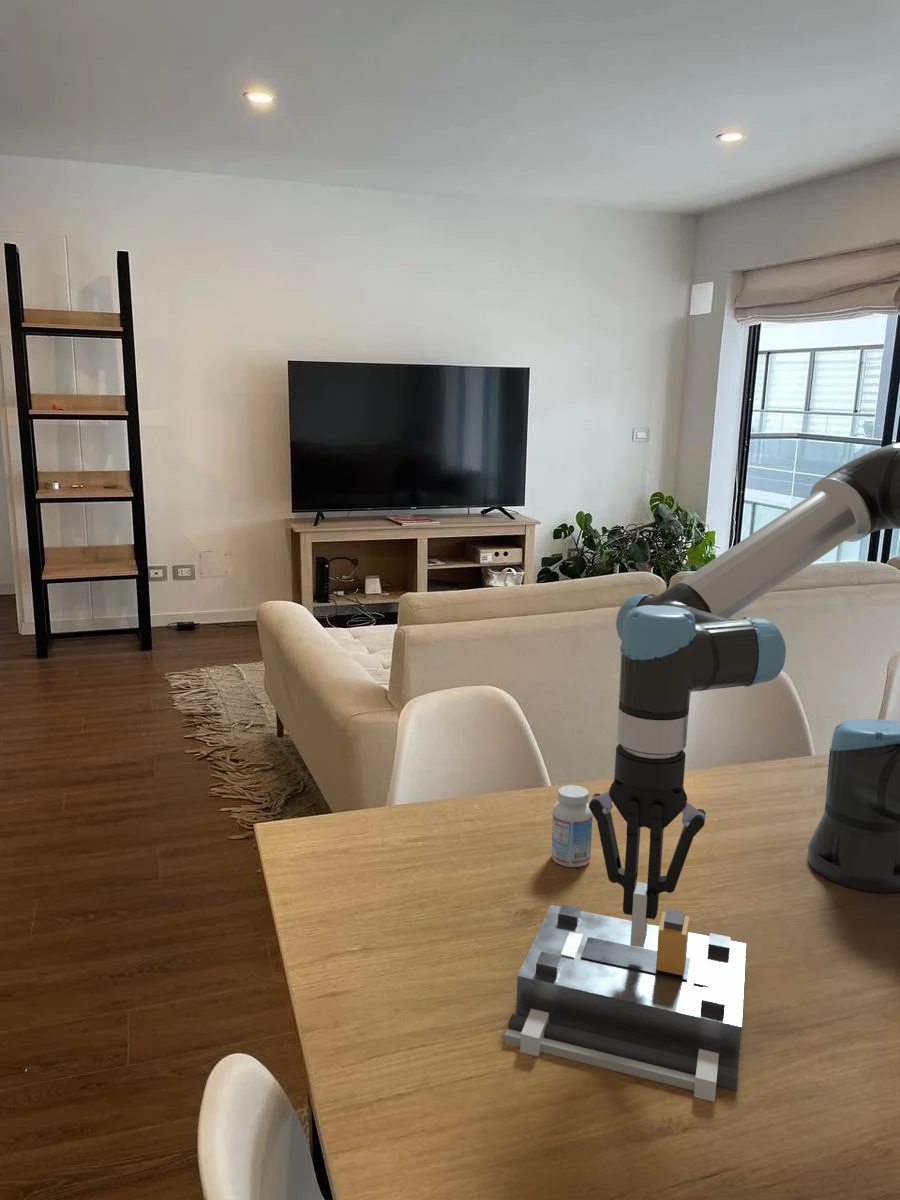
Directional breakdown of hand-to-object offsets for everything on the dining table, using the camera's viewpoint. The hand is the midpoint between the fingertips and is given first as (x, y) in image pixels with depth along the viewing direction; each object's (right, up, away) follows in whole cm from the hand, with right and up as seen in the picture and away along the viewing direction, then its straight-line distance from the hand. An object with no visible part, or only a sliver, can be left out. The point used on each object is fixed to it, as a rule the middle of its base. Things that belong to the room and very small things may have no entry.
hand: (638, 940), depth 102 cm
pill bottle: (-3, -1, +35) cm, 35 cm away
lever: (+4, -2, -1) cm, 4 cm away
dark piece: (0, -7, +2) cm, 8 cm away
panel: (0, -7, +2) cm, 8 cm away
